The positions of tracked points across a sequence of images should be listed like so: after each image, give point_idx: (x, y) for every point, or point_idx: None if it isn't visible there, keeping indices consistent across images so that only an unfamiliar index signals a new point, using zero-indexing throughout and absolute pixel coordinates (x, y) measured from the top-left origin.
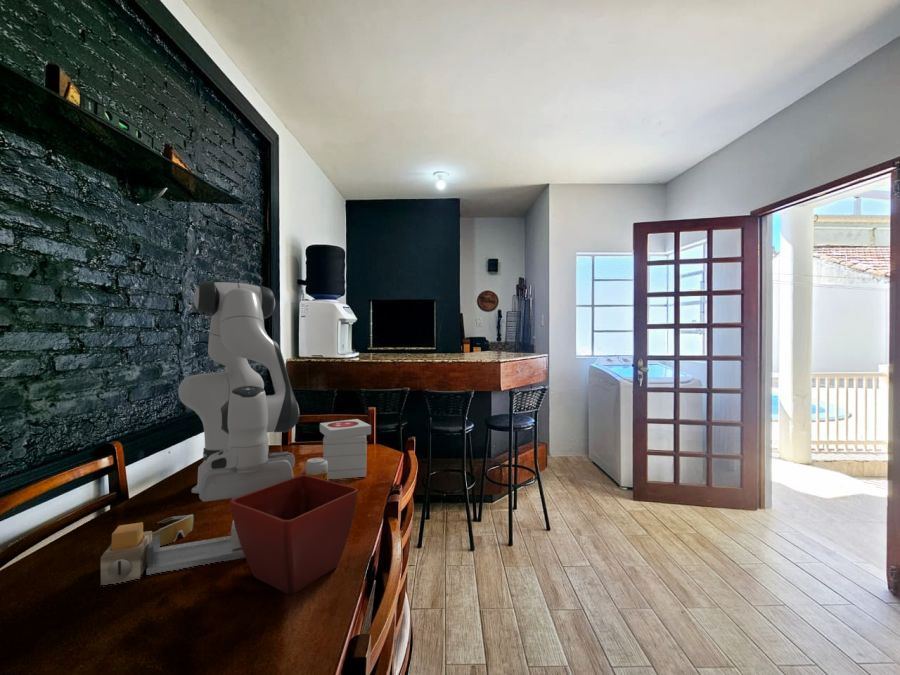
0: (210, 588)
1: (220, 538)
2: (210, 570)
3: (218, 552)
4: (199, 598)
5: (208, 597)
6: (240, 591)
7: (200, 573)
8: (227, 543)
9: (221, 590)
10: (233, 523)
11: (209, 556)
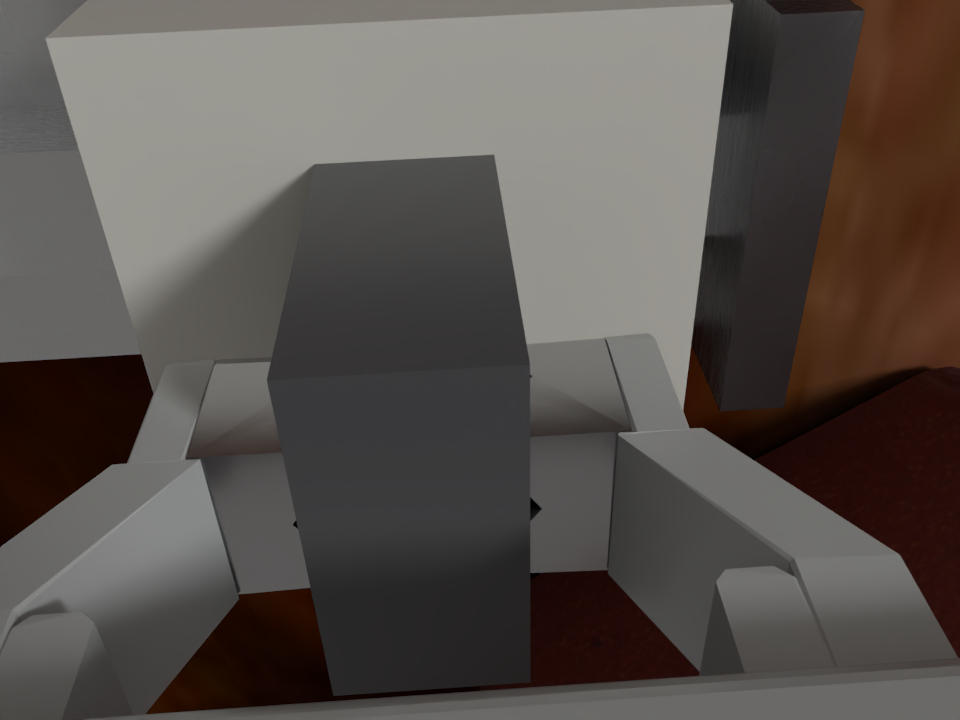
0: (225, 630)
1: (9, 196)
2: (119, 421)
3: (89, 281)
4: (192, 697)
5: (248, 700)
6: (439, 693)
7: (44, 442)
8: None
9: (311, 662)
10: (157, 343)
11: (19, 337)
